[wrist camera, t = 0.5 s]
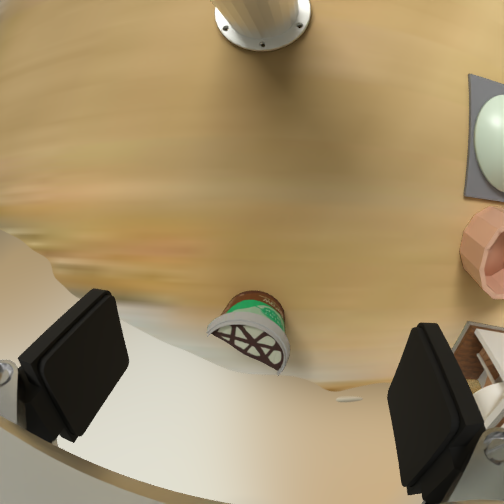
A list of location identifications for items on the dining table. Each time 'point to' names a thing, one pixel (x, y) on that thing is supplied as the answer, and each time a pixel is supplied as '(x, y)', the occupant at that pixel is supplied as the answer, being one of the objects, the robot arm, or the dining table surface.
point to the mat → (475, 179)
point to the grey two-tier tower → (484, 368)
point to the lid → (491, 141)
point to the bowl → (485, 250)
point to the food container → (254, 328)
